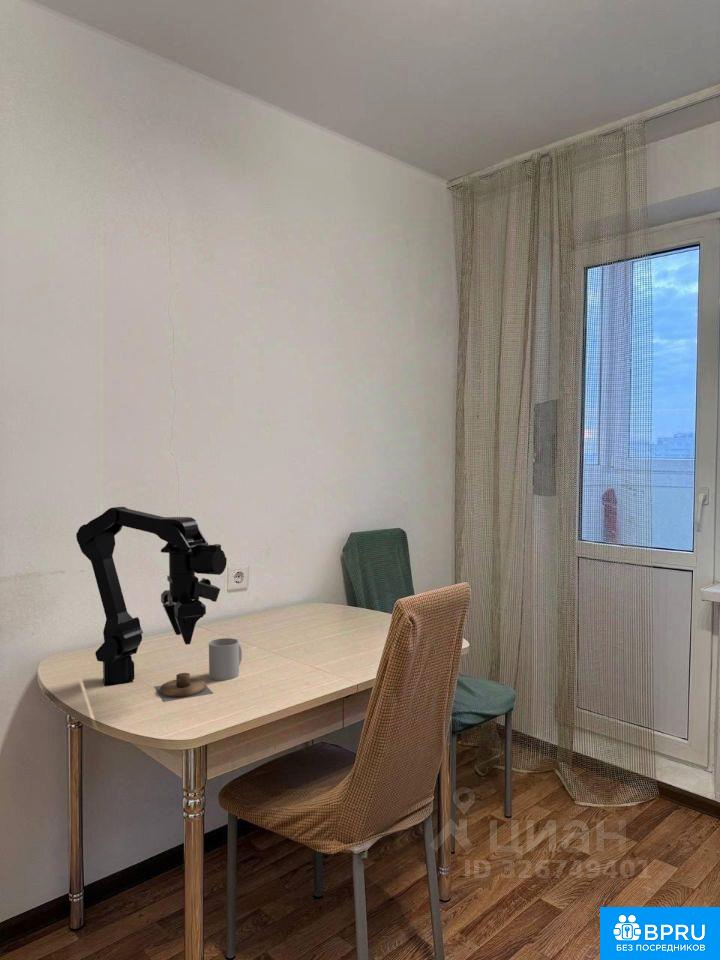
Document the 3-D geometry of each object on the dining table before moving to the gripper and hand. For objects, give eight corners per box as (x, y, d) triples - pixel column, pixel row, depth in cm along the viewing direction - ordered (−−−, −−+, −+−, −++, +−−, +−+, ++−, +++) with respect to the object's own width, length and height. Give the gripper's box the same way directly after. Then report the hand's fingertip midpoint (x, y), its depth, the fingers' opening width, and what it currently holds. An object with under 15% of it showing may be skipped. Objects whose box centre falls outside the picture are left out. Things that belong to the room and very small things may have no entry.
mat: (163, 704, 148) (163, 701, 148) (154, 689, 158) (154, 686, 158) (213, 695, 153) (212, 693, 153) (201, 681, 163) (200, 679, 163)
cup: (203, 679, 164) (202, 643, 164) (230, 668, 173) (229, 634, 173) (225, 684, 161) (225, 647, 161) (252, 672, 170) (251, 637, 169)
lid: (165, 700, 149) (165, 684, 149) (156, 686, 158) (156, 672, 157) (210, 692, 153) (210, 677, 153) (199, 680, 162) (199, 666, 162)
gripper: (228, 575, 150) (228, 644, 151) (205, 564, 167) (206, 626, 167) (177, 579, 145) (178, 651, 146) (160, 567, 162) (161, 631, 162)
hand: (182, 639), depth 155 cm, fingers open, 9 cm apart
